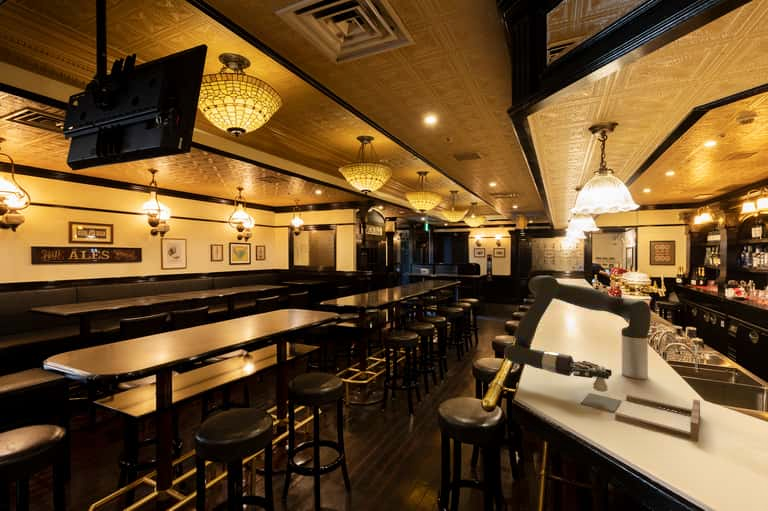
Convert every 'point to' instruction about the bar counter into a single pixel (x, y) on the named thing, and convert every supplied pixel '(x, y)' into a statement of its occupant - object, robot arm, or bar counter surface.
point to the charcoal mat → (601, 402)
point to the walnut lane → (667, 429)
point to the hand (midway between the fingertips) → (609, 374)
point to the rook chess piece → (600, 381)
